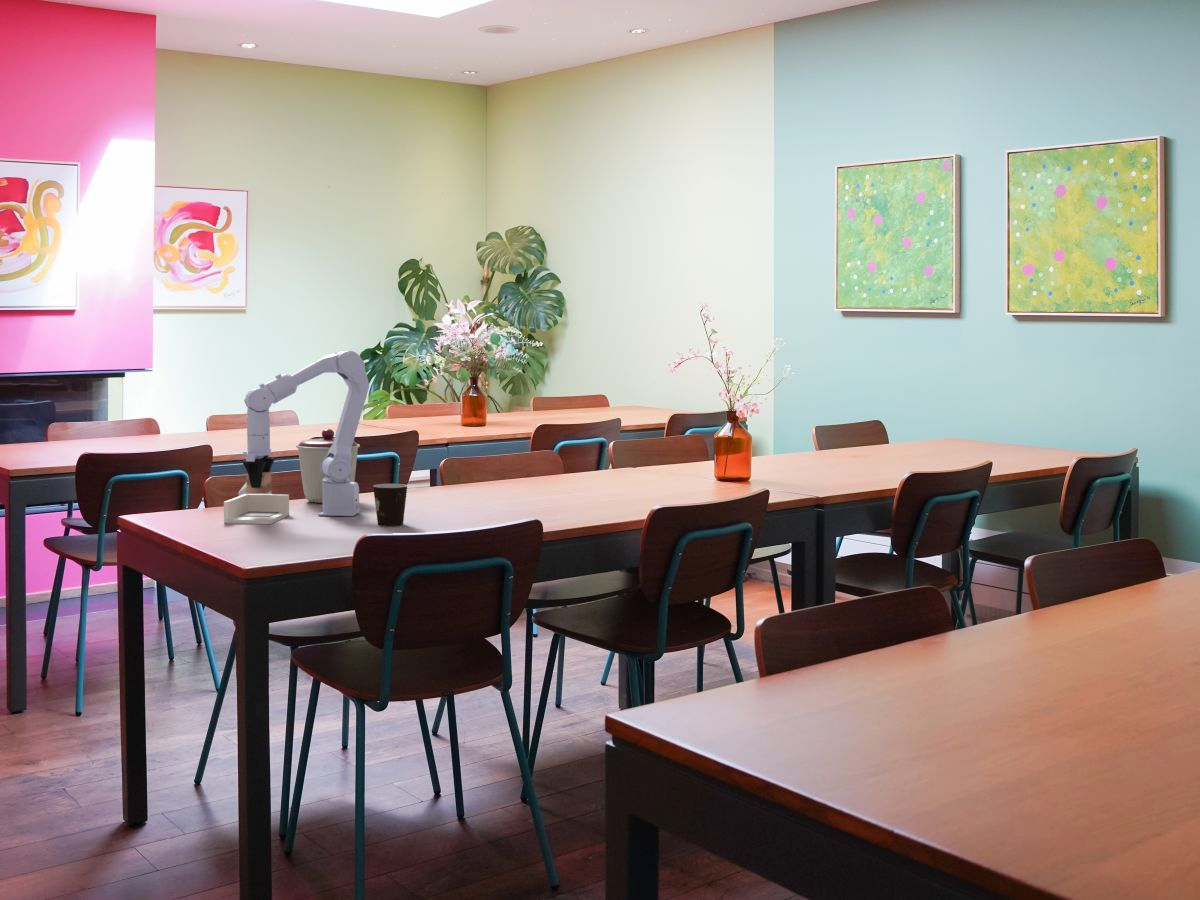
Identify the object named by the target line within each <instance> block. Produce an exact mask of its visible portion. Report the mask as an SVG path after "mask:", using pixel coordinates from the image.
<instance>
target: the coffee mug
mask: <svg viewBox="0 0 1200 900" xmlns="http://www.w3.org/2000/svg"><path fill="white" fill-rule="evenodd" d="M372 486H373V495H374V496H373V497H374V503H375V504H374V505H375V512H376V521H377V525H378V526H379V527H401V526H403V525H404V521H405V520H404V519H405V518H404V517H405V508H406V500H407V493H408V492H407V491H408V485H407V484H402V483H381V484H379V483H378V484H374V485H372Z"/></svg>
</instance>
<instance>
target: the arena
mask: <svg viewBox="0 0 1200 900" xmlns="http://www.w3.org/2000/svg"><path fill="white" fill-rule="evenodd" d="M288 516H290V494H273V493H272V494H243V495H241V496H239V495H238V496H236V497H233V498H231V499H228V500H225V501H223V523H224V524H242V525H243V524H245V525H246V524H249V525H253V524H254V525H271V524H273V523H275V522H278V521H280V520H282V519H284V518H286V517H288Z"/></svg>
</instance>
